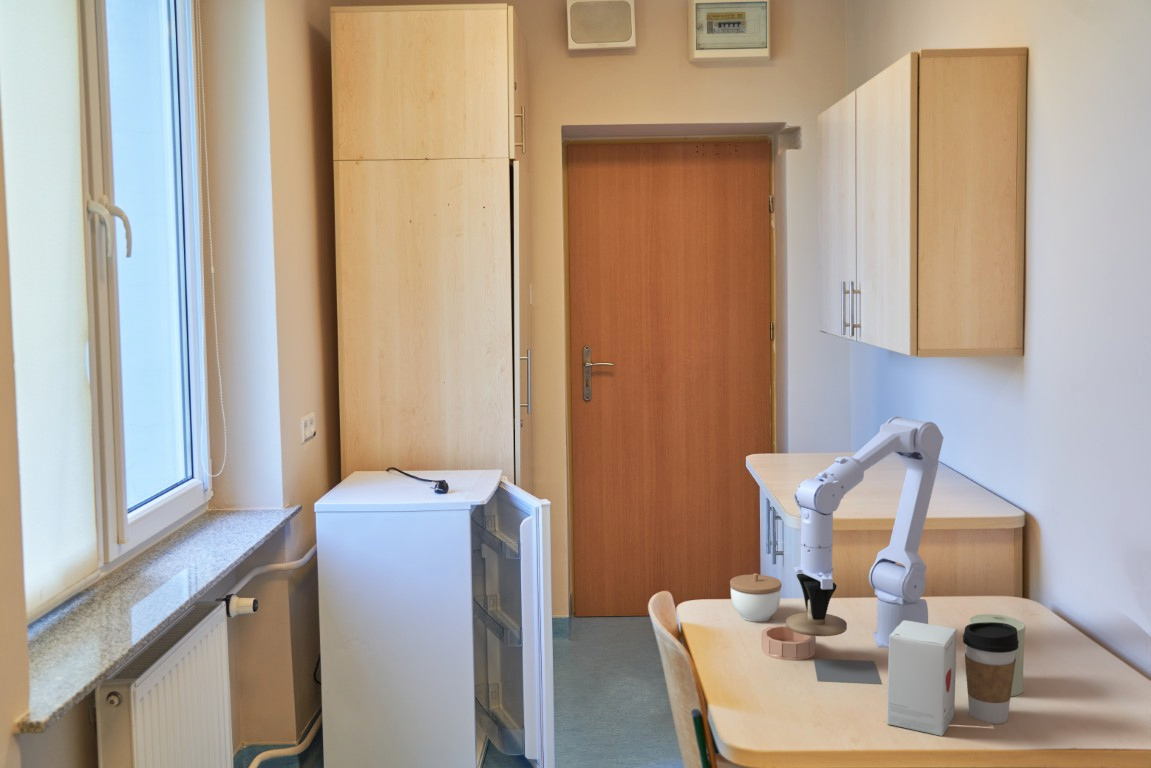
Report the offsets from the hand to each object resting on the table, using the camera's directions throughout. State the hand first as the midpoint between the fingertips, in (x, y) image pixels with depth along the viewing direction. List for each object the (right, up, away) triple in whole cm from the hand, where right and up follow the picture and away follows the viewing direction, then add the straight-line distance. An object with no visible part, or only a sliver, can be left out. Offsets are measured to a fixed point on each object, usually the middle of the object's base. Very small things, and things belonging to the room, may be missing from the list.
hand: (815, 615), depth 192 cm
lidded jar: (-7, -7, +27) cm, 28 cm away
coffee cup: (+23, -11, -23) cm, 35 cm away
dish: (-4, -8, +6) cm, 11 cm away
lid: (0, -2, 0) cm, 2 cm away
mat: (+5, -9, -4) cm, 11 cm away
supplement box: (+11, -12, -25) cm, 30 cm away
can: (+29, -10, -11) cm, 32 cm away
